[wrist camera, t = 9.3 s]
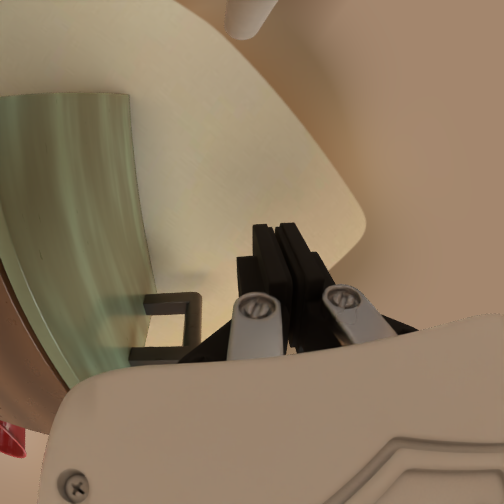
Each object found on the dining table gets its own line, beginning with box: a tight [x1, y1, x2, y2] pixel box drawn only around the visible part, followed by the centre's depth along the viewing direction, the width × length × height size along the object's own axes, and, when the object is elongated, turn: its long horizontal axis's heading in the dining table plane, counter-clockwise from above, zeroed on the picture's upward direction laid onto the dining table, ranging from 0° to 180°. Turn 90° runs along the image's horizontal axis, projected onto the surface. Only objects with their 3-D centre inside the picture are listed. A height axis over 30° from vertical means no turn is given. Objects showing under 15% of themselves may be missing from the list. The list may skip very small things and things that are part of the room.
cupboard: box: [0, 258, 70, 435], centre depth 17 cm, size 14×20×18 cm
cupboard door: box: [0, 92, 202, 390], centre depth 18 cm, size 6×20×18 cm, turn 1°
